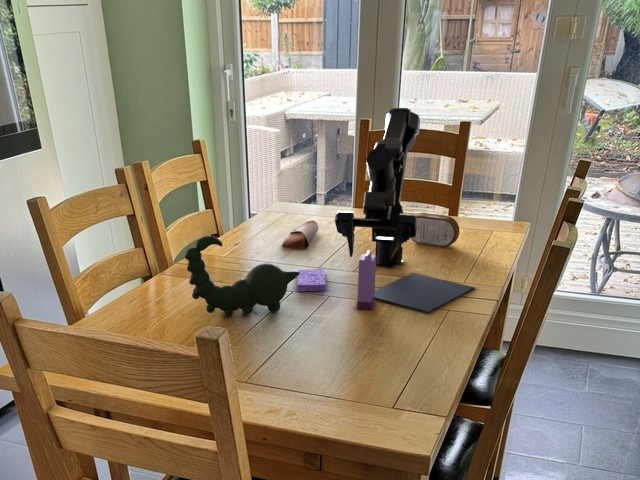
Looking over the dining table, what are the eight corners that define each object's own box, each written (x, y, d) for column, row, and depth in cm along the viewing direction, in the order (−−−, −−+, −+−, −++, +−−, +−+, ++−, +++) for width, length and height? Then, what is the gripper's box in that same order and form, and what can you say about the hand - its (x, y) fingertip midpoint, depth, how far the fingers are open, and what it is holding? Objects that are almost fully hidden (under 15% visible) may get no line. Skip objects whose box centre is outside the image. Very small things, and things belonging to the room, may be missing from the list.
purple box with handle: (360, 302, 170) (362, 249, 163) (374, 303, 170) (376, 250, 162) (357, 309, 167) (359, 255, 160) (370, 310, 166) (373, 256, 159)
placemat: (364, 296, 173) (364, 294, 173) (412, 274, 186) (413, 272, 186) (428, 313, 163) (428, 311, 163) (474, 289, 176) (475, 287, 176)
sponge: (297, 291, 177) (297, 284, 176) (297, 275, 188) (297, 268, 187) (325, 291, 177) (325, 284, 176) (324, 275, 187) (324, 267, 186)
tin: (458, 247, 205) (461, 216, 200) (454, 249, 203) (457, 219, 198) (409, 240, 212) (411, 210, 207) (405, 242, 210) (407, 213, 205)
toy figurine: (196, 328, 164) (304, 315, 163) (180, 245, 153) (296, 230, 152) (198, 313, 171) (302, 300, 170) (183, 233, 161) (294, 219, 160)
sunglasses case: (291, 230, 222) (302, 211, 218) (310, 242, 223) (321, 224, 219) (280, 247, 207) (291, 227, 203) (300, 260, 208) (312, 240, 204)
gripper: (337, 174, 162) (325, 236, 160) (419, 176, 158) (409, 241, 155) (343, 202, 173) (332, 261, 170) (421, 205, 168) (411, 266, 166)
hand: (370, 257), depth 165 cm, fingers open, 9 cm apart
